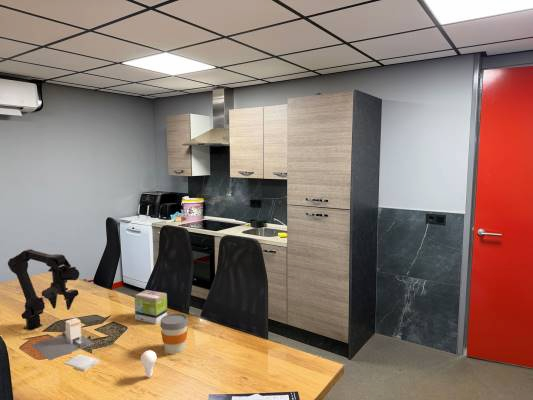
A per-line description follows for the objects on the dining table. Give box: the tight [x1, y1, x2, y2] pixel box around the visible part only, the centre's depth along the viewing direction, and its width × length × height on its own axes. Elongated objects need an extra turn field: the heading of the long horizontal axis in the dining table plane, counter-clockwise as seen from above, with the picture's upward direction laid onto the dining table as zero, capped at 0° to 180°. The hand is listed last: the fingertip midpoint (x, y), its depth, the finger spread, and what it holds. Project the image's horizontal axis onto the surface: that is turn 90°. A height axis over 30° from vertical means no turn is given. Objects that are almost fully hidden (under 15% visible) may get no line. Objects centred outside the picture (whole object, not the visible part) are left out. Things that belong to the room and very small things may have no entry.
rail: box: [61, 330, 86, 348], centre depth 181 cm, size 20×3×2 cm, turn 50°
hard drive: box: [63, 354, 101, 372], centre depth 161 cm, size 2×8×12 cm
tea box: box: [134, 289, 168, 325], centre depth 207 cm, size 15×10×15 cm, turn 68°
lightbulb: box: [140, 350, 158, 378], centre depth 150 cm, size 6×6×11 cm
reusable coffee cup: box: [160, 313, 189, 355], centre depth 172 cm, size 12×13×15 cm
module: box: [65, 317, 82, 344], centre depth 180 cm, size 5×5×10 cm
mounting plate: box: [31, 334, 95, 361], centre depth 177 cm, size 22×20×1 cm
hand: (61, 309), depth 191 cm, fingers open, 9 cm apart
